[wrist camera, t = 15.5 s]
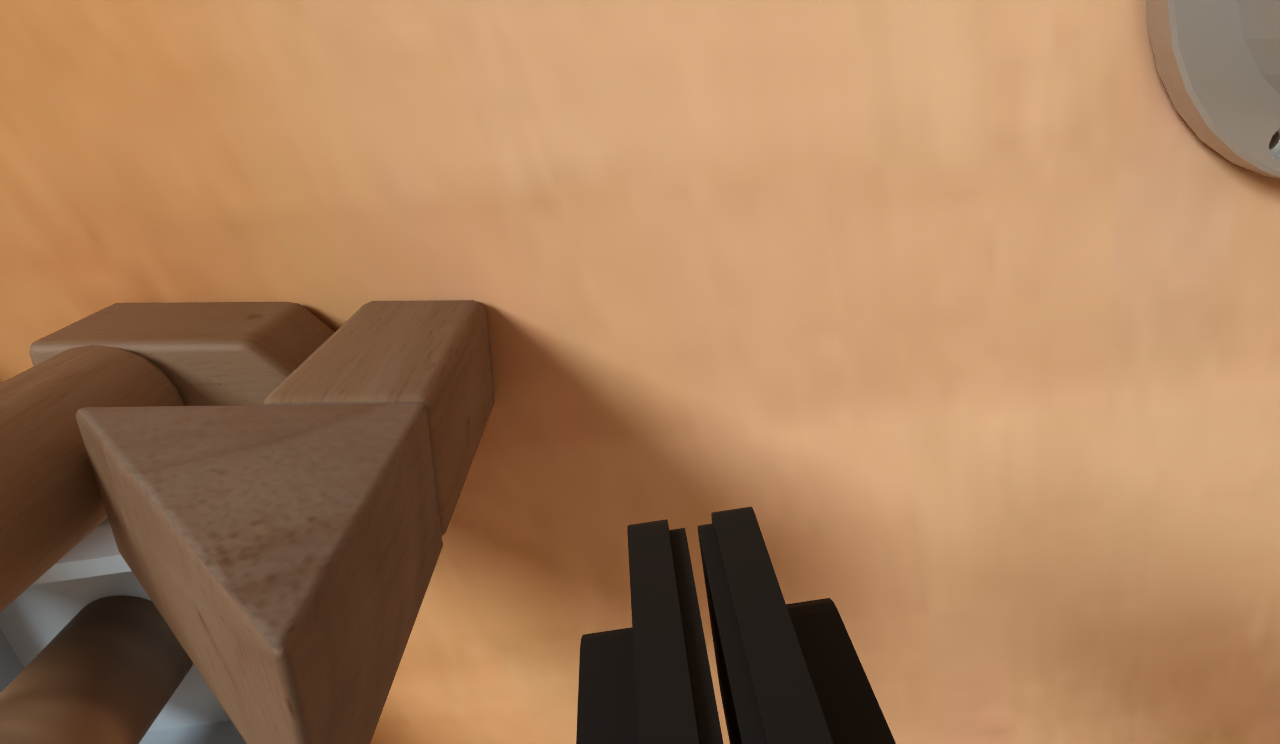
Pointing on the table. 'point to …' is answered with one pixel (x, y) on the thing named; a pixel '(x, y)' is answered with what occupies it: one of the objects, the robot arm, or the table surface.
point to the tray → (9, 640)
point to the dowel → (96, 678)
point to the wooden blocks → (255, 485)
